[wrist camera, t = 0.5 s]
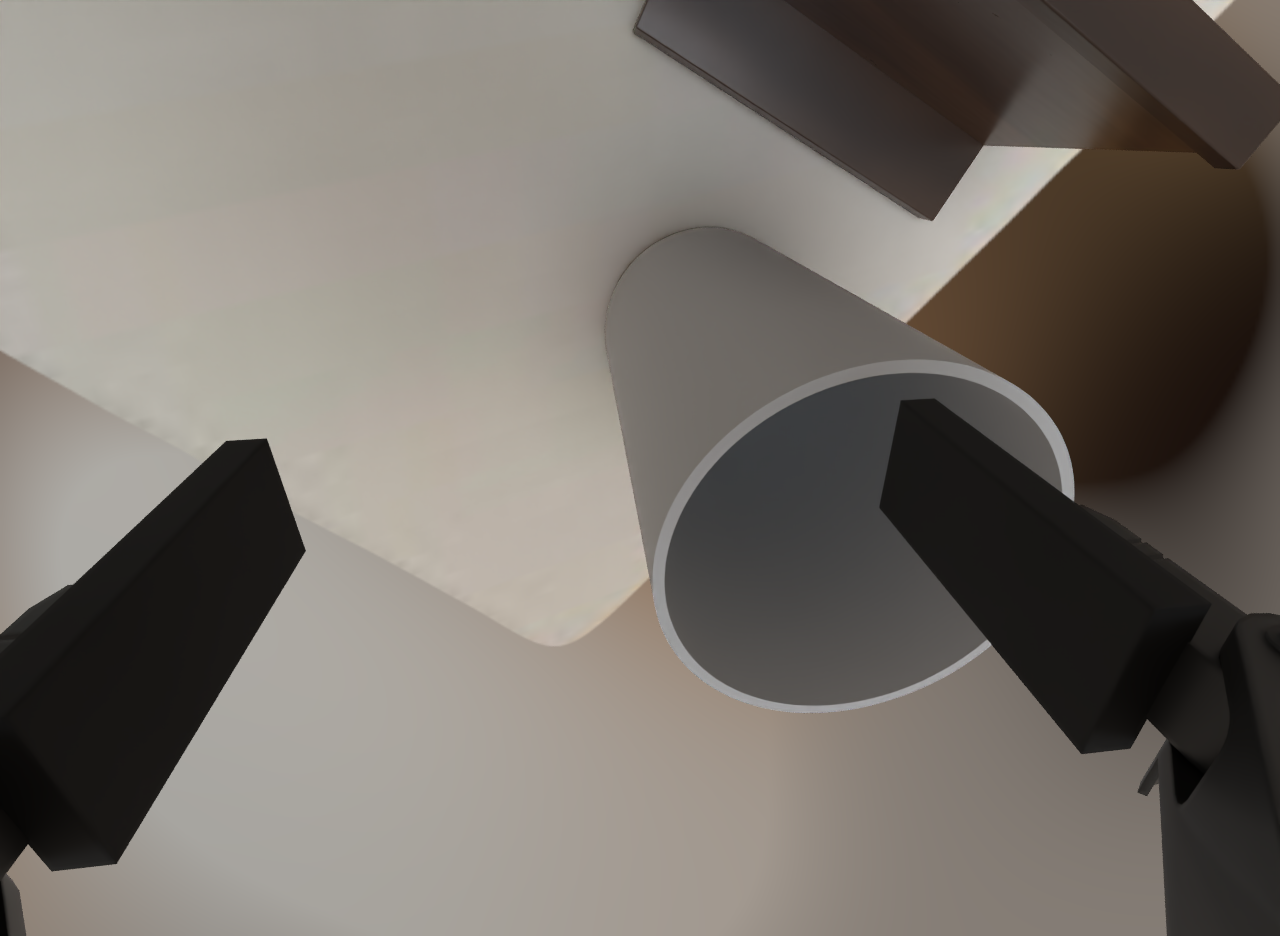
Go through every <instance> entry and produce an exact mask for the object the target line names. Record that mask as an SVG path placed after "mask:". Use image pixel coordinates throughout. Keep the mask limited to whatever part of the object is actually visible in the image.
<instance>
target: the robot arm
mask: <svg viewBox="0 0 1280 936" xmlns="http://www.w3.org/2000/svg"><path fill="white" fill-rule="evenodd" d="M879 508H880V509H881V511H882V512H883V513H884V514H885V515H886V517H887V518H888V519H889V520H890V522H891V523H892V524H893V525H894V526H895V528H896V529H897V530H898V531H899V533H900V534H901V535H902V536H903V537H904V539H905V540H906V541H907V542H908V544H909V545H910V546H911V547H912V548H913V550H914V551H915V552H916V553H917V554H918V556H919V557H920V558H921V559H922V561H923V562H924V563H925V564H926V565H927V567H928V568H929V569H930V570H931V572H932V573H933V574H934V575H935V576H936V578H937V579H938V580H939V581H940V582H941V584H942V585H943V586H944V587H945V589H946V590H947V591H948V592H949V593H950V595H951V596H952V597H953V598H954V600H955V601H956V602H957V603H958V604H959V606H960V607H961V608H962V609H963V610H964V612H965V613H966V614H967V615H968V617H969V618H970V619H971V620H972V621H973V623H974V624H975V625H976V626H977V628H978V629H979V630H980V631H981V632H982V634H983V635H984V636H985V637H986V638H987V640H988V641H989V642H990V643H991V645H992V646H993V647H994V648H995V649H996V651H997V652H998V653H999V654H1000V655H1001V657H1002V658H1003V659H1004V660H1005V662H1006V663H1007V664H1008V665H1009V666H1010V668H1011V669H1012V670H1013V671H1014V672H1015V674H1016V675H1017V676H1018V677H1019V679H1020V680H1021V681H1022V682H1023V683H1024V685H1025V686H1026V687H1027V688H1028V690H1029V691H1030V692H1031V693H1032V694H1033V696H1034V697H1035V698H1036V699H1037V701H1038V702H1039V703H1040V704H1041V705H1042V706H1043V708H1044V709H1045V710H1046V711H1047V713H1048V714H1049V715H1050V716H1051V718H1052V719H1053V720H1054V721H1055V722H1056V724H1057V725H1058V726H1059V727H1060V729H1061V730H1062V731H1063V732H1064V733H1065V735H1066V736H1067V737H1068V738H1069V740H1070V741H1071V742H1072V743H1073V744H1074V745H1075V747H1076V748H1077V749H1078V750H1079V752H1080V753H1081V754H1087V753H1095V752H1104V751H1113V750H1122V749H1130V748H1131V746H1132V745H1133V743H1134V741H1135V740H1136V738H1137V736H1138V734H1139V732H1140V731H1141V729H1142V727H1143V725H1144V724H1145V722H1146V720H1147V719H1148V720H1149V721H1150V722H1151V723H1152V724H1153V725H1154V726H1155V727H1156V728H1157V729H1158V730H1159V731H1160V732H1161V733H1162V734H1163V735H1164V737H1166V741H1165V742H1164V744H1163V746H1162V747H1161V749H1160V751H1159V752H1158V754H1157V756H1156V757H1155V759H1154V761H1153V762H1152V764H1151V766H1150V768H1149V769H1148V771H1147V772H1146V774H1145V776H1144V777H1143V779H1142V781H1141V783H1140V786H1139V789H1138V793H1140V794H1143V795H1145V796H1147V795H1148V794H1149V792H1150V790H1151V789H1152V787H1153V785H1155V784H1159V792H1160V811H1161V830H1162V850H1163V869H1164V888H1165V908H1166V926H1167V936H1280V615H1276V614H1271V613H1260V614H1259V613H1254V614H1248V615H1247V614H1245V613H1244V612H1242V611H1241V610H1240V609H1238V608H1237V607H1235V606H1234V605H1233V604H1231V603H1230V602H1229V601H1227V600H1226V599H1224V598H1223V597H1222V596H1220V595H1219V594H1217V593H1216V592H1215V591H1213V590H1212V589H1210V588H1209V587H1208V586H1206V585H1205V584H1203V583H1202V582H1201V581H1199V580H1198V579H1197V578H1195V577H1194V576H1192V575H1191V574H1189V573H1188V572H1187V571H1185V570H1184V569H1182V568H1181V567H1180V566H1178V565H1177V564H1176V563H1174V562H1173V561H1171V560H1170V559H1168V558H1167V559H1164V558H1163V554H1162V553H1160V552H1159V551H1158V550H1156V549H1155V548H1153V547H1152V546H1151V545H1149V544H1148V543H1142V542H1141V538H1139V537H1138V536H1137V535H1135V534H1134V533H1132V532H1131V531H1130V530H1128V529H1127V528H1126V527H1124V526H1123V525H1121V524H1120V523H1119V522H1117V521H1116V520H1114V519H1112V518H1110V517H1108V516H1105V515H1103V514H1101V513H1099V512H1097V511H1094V510H1092V509H1090V508H1088V507H1085V506H1084V505H1078V504H1077V503H1075V502H1074V501H1073V500H1071V499H1070V498H1068V497H1067V496H1066V495H1064V494H1063V493H1062V492H1060V491H1059V490H1058V489H1056V488H1055V487H1054V486H1052V485H1051V484H1050V483H1048V482H1047V481H1046V480H1044V479H1043V478H1041V477H1040V476H1039V475H1037V474H1036V473H1035V472H1033V471H1032V470H1031V469H1029V468H1028V467H1027V466H1025V465H1024V464H1023V463H1021V462H1020V461H1019V460H1017V459H1016V458H1014V457H1013V456H1012V455H1010V454H1009V453H1008V452H1006V451H1005V450H1004V449H1002V448H1001V447H1000V446H998V445H997V444H996V443H994V442H993V441H992V440H990V439H989V438H987V437H986V436H985V435H983V434H982V433H981V432H979V431H978V430H977V429H975V428H974V427H973V426H971V425H970V424H969V423H967V422H966V421H964V420H963V419H962V418H960V417H959V416H958V415H956V414H955V413H954V412H952V411H951V410H950V409H948V408H947V407H946V406H944V405H943V404H942V403H940V402H939V401H937V400H936V399H935V398H932V399H915V400H901V402H900V407H899V412H898V417H897V421H896V426H895V431H894V436H893V441H892V446H891V451H890V456H889V461H888V466H887V471H886V476H885V481H884V486H883V491H882V495H881V500H880V505H879ZM305 551H306V550H305V547H304V545H303V542H302V539H301V536H300V533H299V530H298V527H297V524H296V521H295V518H294V516H293V513H292V510H291V507H290V504H289V501H288V498H287V495H286V492H285V490H284V487H283V484H282V481H281V478H280V475H279V472H278V469H277V467H276V464H275V461H274V458H273V455H272V452H271V449H270V446H269V443H268V441H267V439H251V440H235V441H226V442H225V443H224V444H223V445H221V446H220V447H219V448H218V449H217V450H216V451H215V452H214V453H213V454H212V455H211V456H210V457H209V458H208V459H207V460H205V461H204V462H203V463H202V464H201V465H200V466H199V467H198V468H197V469H196V470H195V471H194V472H193V473H192V474H191V475H190V476H189V477H187V478H186V480H184V481H183V482H182V483H181V484H180V485H179V486H178V487H177V488H176V489H175V490H174V491H172V492H171V494H169V496H167V497H166V498H165V499H164V500H163V501H162V502H161V503H160V504H159V505H158V506H157V507H156V508H154V509H153V510H152V511H151V512H150V513H149V514H148V515H147V516H146V517H145V518H144V519H143V520H142V521H141V522H140V523H139V524H137V525H136V526H135V527H134V528H133V529H132V530H131V531H130V532H129V533H128V534H127V535H126V536H125V537H124V538H122V539H121V541H119V542H118V543H117V544H116V545H115V546H114V547H113V548H112V549H111V550H110V551H109V552H108V553H107V554H105V556H103V557H102V558H101V559H100V560H99V561H98V562H97V563H96V564H95V565H94V566H93V567H92V568H91V569H89V570H88V571H87V572H86V573H85V574H84V575H83V576H82V577H81V578H80V579H79V580H78V581H77V582H76V583H75V584H74V585H67V586H66V587H64V588H63V589H61V590H59V591H58V592H56V593H54V594H52V595H51V596H49V597H48V598H46V599H44V600H43V601H41V602H39V603H38V604H36V605H34V606H33V607H31V608H29V609H28V610H27V611H26V612H25V613H24V614H22V615H21V616H20V617H19V618H18V619H17V620H16V621H15V622H14V623H12V624H11V626H9V627H8V628H7V629H6V630H5V631H4V632H3V633H2V634H0V936H26V931H25V925H24V918H23V912H22V905H21V899H20V892H19V890H18V888H17V887H16V885H15V884H14V882H13V881H12V879H11V878H10V877H9V876H8V875H7V874H6V872H8V870H9V869H10V867H11V866H12V865H13V863H14V862H15V861H16V859H17V858H18V857H19V855H20V854H21V853H22V851H23V850H24V849H25V847H26V846H27V845H28V844H29V846H30V847H31V848H32V849H33V850H34V851H35V853H36V854H37V855H38V856H39V857H40V858H41V860H42V861H43V862H44V863H45V864H46V865H47V866H48V868H49V869H50V870H51V871H59V870H68V869H76V868H85V867H94V866H103V865H112V864H117V862H118V860H119V859H120V857H121V856H122V854H123V852H124V851H125V849H126V847H127V846H128V844H129V842H130V840H131V839H132V837H133V836H134V834H135V832H136V831H137V829H138V827H139V826H140V824H141V823H142V821H143V819H144V818H145V816H146V814H147V813H148V811H149V809H150V808H151V806H152V804H153V802H154V801H155V799H156V798H157V796H158V794H159V793H160V791H161V789H162V788H163V786H164V784H165V783H166V781H167V779H168V778H169V776H170V775H171V773H172V771H173V770H174V768H175V766H176V765H177V763H178V761H179V760H180V758H181V756H182V754H183V753H184V751H185V750H186V748H187V746H188V745H189V743H190V741H191V740H192V738H193V737H194V735H195V733H196V732H197V730H198V728H199V727H200V725H201V723H202V722H203V720H204V718H205V717H206V715H207V713H208V712H209V710H210V708H211V707H212V705H213V703H214V702H215V700H216V698H217V697H218V695H219V693H220V692H221V690H222V688H223V687H224V685H225V684H226V682H227V680H228V678H229V677H230V675H231V673H232V672H233V670H234V668H235V667H236V665H237V664H238V662H239V660H240V659H241V657H242V655H243V654H244V652H245V650H246V649H247V647H248V645H249V644H250V642H251V640H252V639H253V637H254V636H255V634H256V632H257V631H258V629H259V627H260V626H261V624H262V622H263V621H264V619H265V617H266V616H267V614H268V612H269V611H270V609H271V607H272V606H273V604H274V602H275V601H276V599H277V597H278V596H279V594H280V593H281V591H282V589H283V588H284V586H285V584H286V583H287V581H288V579H289V578H290V576H291V574H292V573H293V571H294V569H295V568H296V566H297V564H298V563H299V561H300V559H301V558H302V556H303V554H304V553H305Z"/></svg>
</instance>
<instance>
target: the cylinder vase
mask: <svg viewBox="0 0 1280 936" xmlns="http://www.w3.org/2000/svg"><path fill="white" fill-rule="evenodd" d="M605 345H606V351H607V356H608V362H609V367H610V372H611V377H612V383H613V388H614V393H615V399H616V404H617V409H618V414H619V420H620V425H621V430H622V435H623V441H624V446H625V451H626V456H627V462H628V467H629V472H630V477H631V483H632V488H633V493H634V499H635V504H636V509H637V514H638V520H639V525H640V530H641V535H642V541H643V546H644V551H645V556H646V562H647V567H648V572H649V578H650V583H651V588H652V593H653V598H654V603H655V609H656V613H657V617H658V620H659V623H660V625H661V628H662V631H663V633H664V635H665V637H666V639H667V641H668V643H669V644H670V646H671V648H672V649H673V651H674V652H675V653H676V655H677V656H678V657H679V659H680V660H681V661H682V662H683V663H684V664H685V666H686V667H687V668H688V669H689V670H691V671H692V672H693V673H694V674H695V675H696V676H697V677H698V678H700V679H701V680H702V681H704V682H705V683H706V684H708V685H710V686H711V687H713V688H714V689H716V690H718V691H719V692H721V693H723V694H725V695H727V696H730V697H732V698H734V699H736V700H739V701H742V702H745V703H748V704H751V705H754V706H758V707H762V708H767V709H772V710H778V711H787V712H798V713H823V712H836V711H844V710H851V709H857V708H862V707H866V706H871V705H875V704H878V703H882V702H886V701H889V700H892V699H895V698H898V697H901V696H904V695H906V694H909V693H911V692H914V691H916V690H919V689H921V688H923V687H925V686H927V685H930V684H932V683H934V682H936V681H938V680H940V679H942V678H943V677H945V676H947V675H949V674H951V673H952V672H954V671H956V670H957V669H959V668H960V667H962V666H964V665H965V664H966V663H968V662H969V661H971V660H972V659H974V658H975V657H977V656H978V655H979V654H981V653H982V652H983V651H985V650H986V649H987V648H988V647H990V646H991V643H990V642H989V641H988V640H987V638H986V637H985V636H984V635H983V634H982V632H981V631H980V630H979V629H978V628H977V626H976V625H975V624H974V623H973V621H972V620H971V619H970V618H969V617H968V615H967V614H966V613H965V612H964V610H963V609H962V608H961V607H960V606H959V604H958V603H957V602H956V601H955V600H954V598H953V597H952V596H951V595H950V593H949V592H948V591H947V590H946V589H945V587H944V586H943V585H942V584H941V582H940V581H939V580H938V579H937V578H936V576H935V575H934V574H933V573H932V572H931V570H930V569H929V568H928V567H927V565H926V564H925V563H924V562H923V561H922V559H921V558H920V557H919V556H918V554H917V553H916V552H915V551H914V550H913V548H912V547H911V546H910V545H909V544H908V542H907V541H906V540H905V539H904V537H903V536H902V535H901V534H900V533H899V531H898V530H897V529H896V528H895V526H894V525H893V524H892V523H891V522H890V520H889V519H888V518H887V517H886V515H885V514H884V513H883V512H882V511H881V509H880V508H879V505H880V500H881V495H882V491H883V486H884V481H885V476H886V471H887V466H888V461H889V456H890V451H891V446H892V441H893V436H894V431H895V426H896V421H897V417H898V412H899V407H900V402H901V400H915V399H932V398H935V399H936V400H937V401H939V402H940V403H942V404H943V405H944V406H946V407H947V408H948V409H950V410H951V411H952V412H954V413H955V414H956V415H958V416H959V417H960V418H962V419H963V420H964V421H966V422H967V423H969V424H970V425H971V426H973V427H974V428H975V429H977V430H978V431H979V432H981V433H982V434H983V435H985V436H986V437H987V438H989V439H990V440H992V441H993V442H994V443H996V444H997V445H998V446H1000V447H1001V448H1002V449H1004V450H1005V451H1006V452H1008V453H1009V454H1010V455H1012V456H1013V457H1014V458H1016V459H1017V460H1019V461H1020V462H1021V463H1023V464H1024V465H1025V466H1027V467H1028V468H1029V469H1031V470H1032V471H1033V472H1035V473H1036V474H1037V475H1039V476H1040V477H1041V478H1043V479H1044V480H1046V481H1047V482H1048V483H1050V484H1051V485H1052V486H1054V487H1055V488H1056V489H1058V490H1059V491H1060V492H1062V493H1063V494H1064V495H1066V496H1067V497H1068V498H1070V499H1071V500H1073V501H1074V478H1073V470H1072V465H1071V461H1070V457H1069V454H1068V450H1067V448H1066V445H1065V443H1064V440H1063V438H1062V436H1061V434H1060V432H1059V430H1058V429H1057V427H1056V425H1055V424H1054V423H1053V421H1052V420H1051V418H1050V417H1049V415H1048V414H1047V413H1046V412H1045V410H1044V409H1043V408H1042V407H1041V406H1040V405H1039V404H1038V403H1037V402H1036V401H1035V400H1034V399H1033V398H1031V397H1030V396H1029V395H1028V394H1027V393H1025V392H1024V391H1023V390H1021V389H1020V388H1018V387H1017V386H1015V385H1014V384H1012V383H1010V382H1008V381H1007V380H1005V379H1003V378H1001V377H999V376H998V375H996V374H994V373H992V372H991V371H989V370H987V369H985V368H983V367H982V366H980V365H978V364H976V363H975V362H973V361H971V360H969V359H968V358H966V357H964V356H962V355H960V354H959V353H957V352H955V351H953V350H951V349H950V348H948V347H946V346H944V345H943V344H941V343H939V342H937V341H936V340H934V339H932V338H930V337H928V336H927V335H925V334H923V333H921V332H920V331H918V330H916V329H914V328H912V327H911V326H909V325H907V324H905V323H904V322H902V321H900V320H898V319H897V318H895V317H893V316H891V315H889V314H888V313H886V312H884V311H882V310H881V309H879V308H877V307H875V306H873V305H872V304H870V303H868V302H866V301H865V300H863V299H861V298H859V297H857V296H856V295H854V294H852V293H850V292H849V291H847V290H845V289H843V288H842V287H840V286H838V285H836V284H834V283H833V282H831V281H829V280H827V279H826V278H824V277H822V276H820V275H818V274H817V273H815V272H813V271H811V270H810V269H808V268H806V267H804V266H802V265H801V264H799V263H797V262H795V261H794V260H792V259H790V258H788V257H786V256H785V255H783V254H781V253H779V252H778V251H776V250H774V249H772V248H770V247H769V246H767V245H765V244H763V243H762V242H760V241H758V240H756V239H755V238H753V237H751V236H748V235H746V234H744V233H741V232H738V231H734V230H730V229H725V228H716V227H703V228H694V229H689V230H685V231H681V232H678V233H675V234H673V235H670V236H668V237H666V238H664V239H662V240H660V241H658V242H656V243H655V244H653V245H652V246H650V247H649V248H648V249H646V250H645V251H644V252H643V253H641V254H640V255H639V256H638V257H637V258H636V259H635V260H634V261H633V262H632V263H631V265H630V266H629V267H628V268H627V270H626V271H625V272H624V274H623V275H622V277H621V278H620V280H619V282H618V283H617V285H616V287H615V289H614V292H613V294H612V296H611V299H610V302H609V306H608V309H607V314H606V321H605Z"/></svg>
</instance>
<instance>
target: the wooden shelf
mask: <svg viewBox="0 0 1280 936" xmlns="http://www.w3.org/2000/svg"><path fill="white" fill-rule="evenodd" d="M633 32H634V33H635V34H636V35H638V36H640V37H641V38H643V39H644V40H646V41H647V42H649V43H650V44H652V45H653V46H655V47H656V48H658V49H660V50H661V51H663V52H664V53H666V54H667V55H669V56H670V57H672V58H673V59H675V60H677V61H678V62H680V63H681V64H683V65H684V66H686V67H687V68H689V69H690V70H692V71H693V72H695V73H697V74H698V75H700V76H701V77H703V78H704V79H706V80H707V81H709V82H710V83H712V84H714V85H715V86H717V87H718V88H720V89H721V90H723V91H724V92H726V93H727V94H729V95H731V96H732V97H734V98H735V99H737V100H738V101H740V102H741V103H743V104H744V105H746V106H747V107H749V108H751V109H752V110H754V111H755V112H757V113H758V114H760V115H761V116H763V117H764V118H766V119H768V120H769V121H771V122H772V123H774V124H775V125H777V126H778V127H780V128H781V129H783V130H785V131H786V132H788V133H789V134H791V135H792V136H794V137H795V138H797V139H798V140H800V141H801V142H803V143H805V144H806V145H808V146H809V147H811V148H812V149H814V150H815V151H817V152H818V153H820V154H822V155H823V156H825V157H826V158H828V159H829V160H831V161H832V162H834V163H835V164H837V165H838V166H840V167H842V168H843V169H845V170H846V171H848V172H849V173H851V174H852V175H854V176H855V177H857V178H859V179H860V180H862V181H863V182H865V183H866V184H868V185H869V186H871V187H872V188H874V189H876V190H877V191H879V192H880V193H882V194H883V195H885V196H886V197H888V198H889V199H891V200H892V201H894V202H896V203H897V204H899V205H900V206H902V207H903V208H905V209H906V210H908V211H909V212H911V213H913V214H914V215H916V216H917V217H919V218H922V219H926V220H930V221H933V220H934V218H935V217H936V215H937V214H938V212H939V211H940V209H941V208H942V206H943V205H944V203H945V202H946V200H947V199H948V197H949V196H950V194H951V193H952V191H953V190H954V188H955V187H956V186H957V184H958V183H959V181H960V180H961V178H962V177H963V175H964V174H965V172H966V171H967V169H968V168H969V166H970V165H971V163H972V162H973V160H974V159H975V157H976V156H977V154H978V153H979V151H980V150H981V148H982V147H983V145H986V146H1015V147H1045V148H1074V149H1105V150H1133V151H1134V150H1135V151H1164V152H1193V153H1197V154H1199V155H1200V156H1201V157H1202V158H1203V159H1205V160H1206V161H1207V162H1208V163H1209V164H1211V165H1212V166H1213V167H1214V168H1221V169H1240V168H1241V167H1242V166H1243V165H1244V163H1245V162H1246V161H1247V160H1248V159H1249V158H1250V156H1251V155H1252V154H1253V153H1254V152H1255V150H1256V149H1257V148H1258V147H1259V146H1260V145H1261V143H1262V142H1263V141H1264V140H1265V139H1266V137H1267V136H1268V135H1269V134H1270V133H1271V131H1272V130H1273V129H1274V128H1275V126H1276V125H1277V124H1278V123H1279V122H1280V84H1278V82H1277V81H1276V80H1275V79H1273V78H1272V77H1271V76H1270V75H1269V74H1268V73H1267V72H1266V71H1265V70H1264V69H1263V68H1262V67H1261V66H1260V65H1259V64H1258V63H1257V62H1256V61H1255V60H1254V59H1253V58H1252V57H1250V56H1249V54H1247V53H1246V52H1245V51H1244V50H1243V49H1242V48H1241V47H1240V46H1239V45H1238V44H1237V43H1236V42H1235V41H1234V40H1233V39H1232V38H1231V37H1230V36H1229V35H1228V34H1227V33H1226V32H1225V31H1224V30H1222V29H1221V28H1220V26H1218V25H1217V24H1216V23H1215V22H1214V21H1213V20H1212V19H1211V18H1210V17H1209V16H1208V15H1207V14H1206V13H1205V12H1204V11H1203V10H1202V9H1201V8H1200V7H1199V6H1198V5H1197V4H1196V3H1195V2H1194V1H1193V0H646V1H645V3H644V6H643V8H642V10H641V13H640V15H639V17H638V20H637V22H636V24H635V27H634V29H633Z"/></svg>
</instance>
